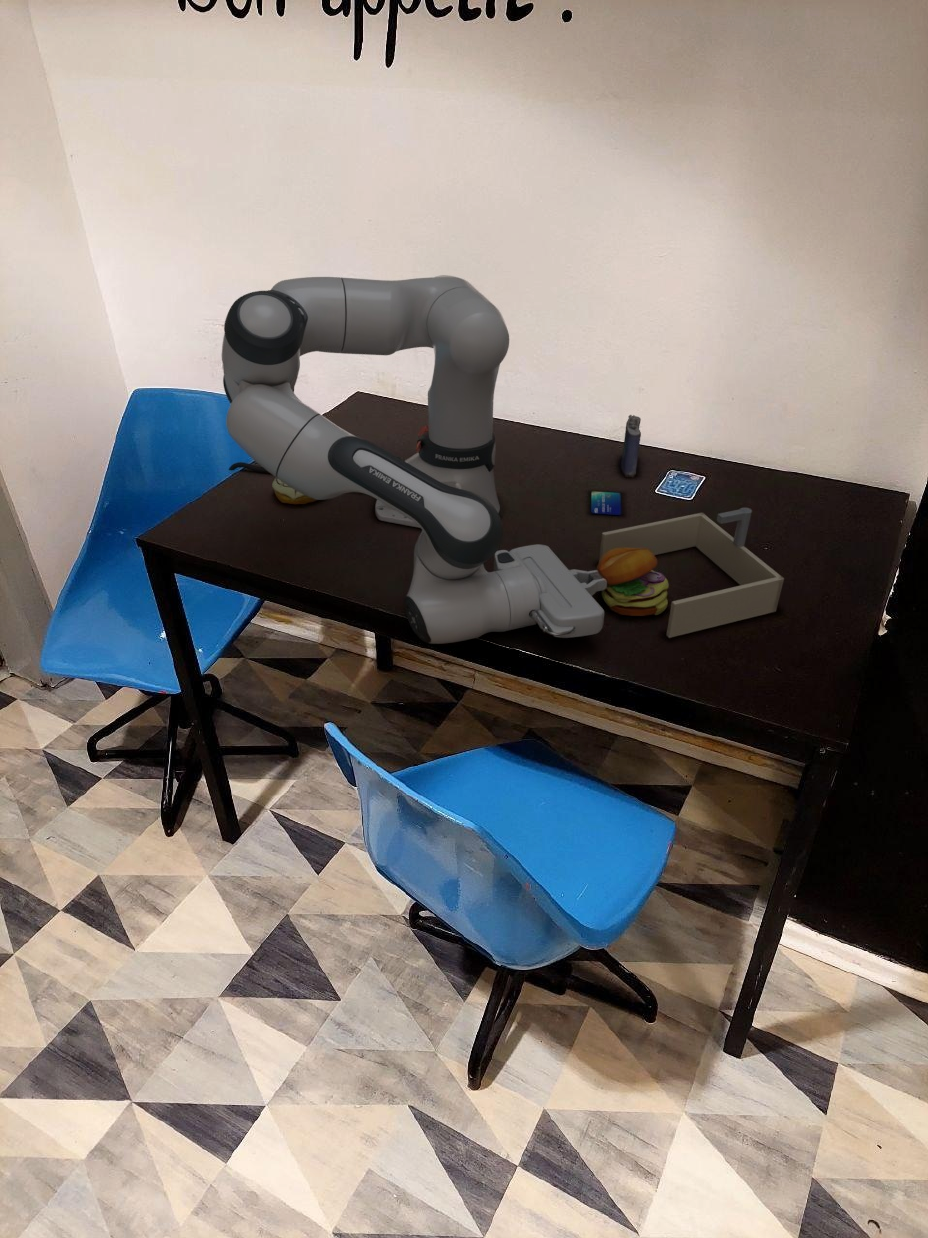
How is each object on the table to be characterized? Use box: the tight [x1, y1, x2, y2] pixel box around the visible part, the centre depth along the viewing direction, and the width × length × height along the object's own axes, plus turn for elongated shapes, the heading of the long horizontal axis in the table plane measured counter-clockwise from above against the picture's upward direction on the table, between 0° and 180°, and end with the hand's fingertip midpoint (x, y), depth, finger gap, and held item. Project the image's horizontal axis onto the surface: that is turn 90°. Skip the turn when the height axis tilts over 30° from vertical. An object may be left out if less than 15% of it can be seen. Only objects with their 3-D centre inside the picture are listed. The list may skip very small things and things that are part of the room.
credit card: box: [590, 491, 622, 516], centre depth 162 cm, size 8×5×1 cm, turn 173°
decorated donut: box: [271, 477, 317, 505], centre depth 164 cm, size 10×11×4 cm
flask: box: [620, 414, 642, 478], centre depth 171 cm, size 9×3×11 cm, turn 172°
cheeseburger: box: [596, 548, 670, 617], centre depth 134 cm, size 10×11×10 cm
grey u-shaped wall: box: [598, 507, 785, 639], centre depth 136 cm, size 19×22×12 cm
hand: (602, 579), depth 132 cm, fingers closed
